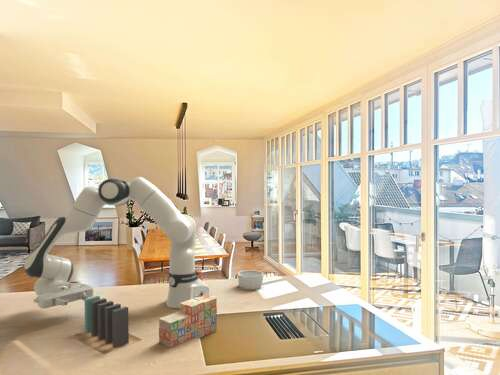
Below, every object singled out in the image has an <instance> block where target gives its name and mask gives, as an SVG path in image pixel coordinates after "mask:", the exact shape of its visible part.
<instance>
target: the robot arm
mask: <svg viewBox="0 0 500 375" xmlns="http://www.w3.org/2000/svg"><path fill="white" fill-rule="evenodd" d="M130 200H131V201H133V202H134V203H136V205H138V207H140V208H141V209H142V210H143V211H144V212H145V213H146V214H148V216H149V217H150V218H151V219H153V220H154V222H155V223H156V224H157V226H158V227H159V228H160V229H161V231H162V232H163V233H164V234H165V236H166V238H167V239H168V240H169V241H170V242H171V243H170V248H169V249H170V250H169V255H168V256H169V272H168V285H169V286H168V291H167V292H168V293H167V299H166V303H165V305H166V306H167V307H168V308H173V309H180V303H182V302H185V301H188V300H191V299H193V298H196V297H201V296H204V295H206V296H210V297H213V298H216V297H215V295H214V294H211V293H210V287H209V286H208V285H209V284H207V283H206V282H204V281H203V280H202V279H200V278H199V276H202V275H203V272H202V270H196V269H195V268H196V265H195V262H196V241H197V222H196V220H195V219H194V217H192V216H191V215H189V214H185V213H181V212H180V210H179V209H178V208H177V207H176V206H175V204H174V202H173V201H172V200H171V199H170V198H169V197H167V195H166V194H164V192H162V191H161V190H160V188H158V187H157V186H156V185H155V184H153V183H152V181H151V182H150V181H149V180H148V179H146V178H145V177H142V176H136V177H133V178H132V179H131V180H130V181H128V182H127V181H125V180H122V179H121V180H120V179H118V178H108V179H105V180H103V181H102V182H101V183H100V185H99V187H94V186H87V187H84V188H83V189H82V190H81V192H80V193H79V195H78V196H77V197H76V199H75V201H74V203H73V205H72V207H71V209H70V210H69V211H68V212H67V213H66V214H64V215H63V216H61V217H58V218H57V219H56V220H55V221H54V222H53V223H52V225H50V227H49V229H48V230H47V232H46V233H45V235H44V236H43V237H42V238H41V240H40V242H39V243H38V244H37V246H36V247H35V249H34V250H33V251H32V252H31V253H30V254H29V255H28V256H27V258H26V260H24V263H23V269H24V271H25V273H26V275H27V276H28V277H29V278H38V279H37V280H36V281H35V282H34V285H33V289H34V292H35V295H37V296H36V298H34V299H33V302H34V303H35V304H37V306H38V307H39V308H40V309H45V310H46V309H50V308H53V307H56V306H57V307H58V306H63V307H64V306H68V304H69V303H73V302H76V301H77V302H78V301H80V300H82V301H84V299H87V298H91V297H94V292H95V290H94V287H93V286H92V285H89V284H86V283H82V281H79V280H78V281H71V279H72V276H73V274H74V265H73V263H72V260H71V259H69V258H67V257H66V258H65V257H63V256H57V255H53V254H49V252H51V250H52V248H53V247H54V245H56V244H55V243H57V241H58V240H59V238H60V237H62V236H64V235H66V234H67V235H68V234H75V233H83V232H86V231H88V230H89V229H91V228H92V227H94V225H95V223H96V220H97V219H98V217H99V215H100V212H101V211H102V209H103V208H104V206H106V205H108V206H115V207H116V206H117V207H118V206H119V207H120V206H124V205H126V204H127V203H129V201H130Z"/></svg>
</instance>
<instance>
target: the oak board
mask: <svg viewBox="0 0 500 375" xmlns="http://www.w3.org/2000/svg"><path fill="white" fill-rule="evenodd" d="M70 336H71V338H74V339H76V340H78V341H79V342H81V343H84V344H85V345H86V346H89V347H91V349H94V350H95V351H97V352H99V353H101V354H103V355H106V354H108V353H111V352H114V351H117V350H119V349H122V348H125V347H127V346H129V345H132V344H135V343H137V342H139V341H140V342H141V341H142V340H143V339H142V338H140V337H138V336H135V335H134V334H131V333H129V343H127V344H125V345H122V346H119V347H117V348H114V347H113V344H112V343H110V344H106V343H105V339H104V340H99V339H98V336H95V337H93V336H91V333H88V334H87V333H85V330H84V331H81V332H78V333H75V334H72V335H70Z"/></svg>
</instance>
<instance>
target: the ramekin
mask: <svg viewBox="0 0 500 375" xmlns="http://www.w3.org/2000/svg"><path fill="white" fill-rule="evenodd" d="M263 280H264V272H263V271H262V270H261V271H260V270H253V269H248V270H247V269H246V270H240V271H239V272H238V273H237V281H238V286H239V287H240V288H241V289H243V290H249V291H251V290H253V291H254V290H257V289H260V288H261V287H262V285H263Z"/></svg>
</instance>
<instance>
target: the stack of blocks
mask: <svg viewBox="0 0 500 375" xmlns="http://www.w3.org/2000/svg"><path fill="white" fill-rule="evenodd" d="M217 302H218V301H217V298H216V297H215V298H213V297H210V296H206V295H204V296H201V297H196V298H193V299H191V300H188V301H185V302H182V303H180V308H179V311H177V312H175V313H172V314H169V315H166V316H163V317H160V318H159V319H158V339H159V340H158V343H159V344H162V346H163V345H164V346H166V347H168V348H173V347H176V346H177V345H180V344H182V343H184V342H187V341H190V340H191V339H193V338H197V339H201V338H202V337H206V336H208V335H210V334H212V333H215V332H217V330H218V328H217V327H218V326H217V324H218V323H217V317H218V316H217V314H218V307H217Z"/></svg>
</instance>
